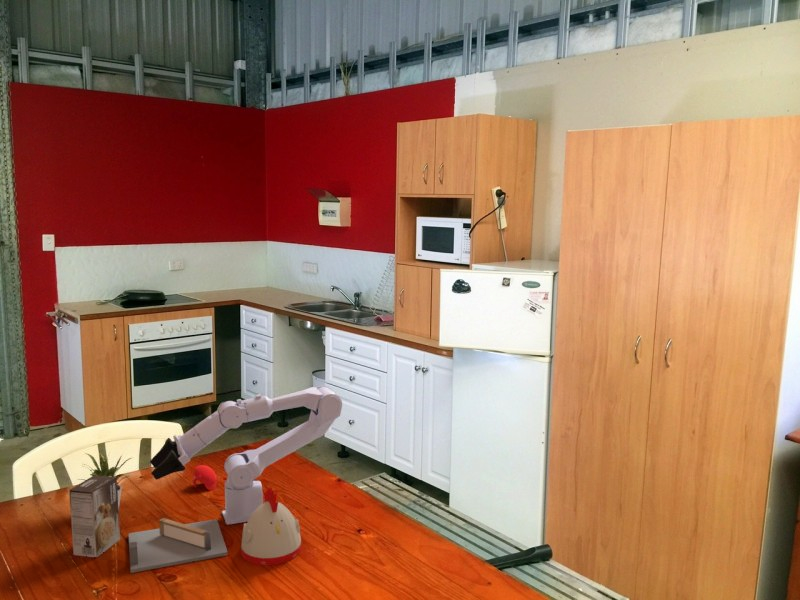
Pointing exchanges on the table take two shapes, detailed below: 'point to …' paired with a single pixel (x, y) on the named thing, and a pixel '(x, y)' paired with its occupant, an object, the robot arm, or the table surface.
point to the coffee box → (94, 515)
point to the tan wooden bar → (182, 532)
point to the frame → (173, 547)
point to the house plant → (107, 471)
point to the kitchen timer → (271, 533)
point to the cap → (205, 477)
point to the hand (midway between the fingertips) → (152, 470)
